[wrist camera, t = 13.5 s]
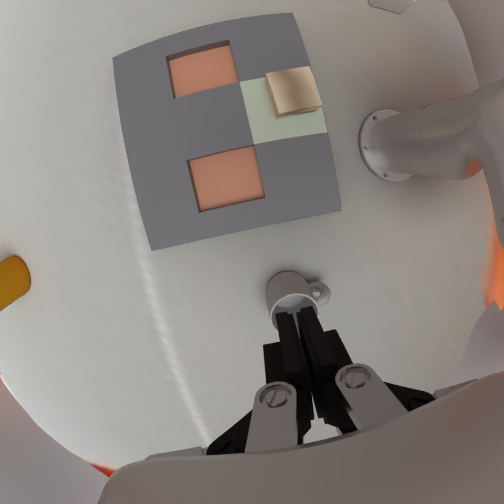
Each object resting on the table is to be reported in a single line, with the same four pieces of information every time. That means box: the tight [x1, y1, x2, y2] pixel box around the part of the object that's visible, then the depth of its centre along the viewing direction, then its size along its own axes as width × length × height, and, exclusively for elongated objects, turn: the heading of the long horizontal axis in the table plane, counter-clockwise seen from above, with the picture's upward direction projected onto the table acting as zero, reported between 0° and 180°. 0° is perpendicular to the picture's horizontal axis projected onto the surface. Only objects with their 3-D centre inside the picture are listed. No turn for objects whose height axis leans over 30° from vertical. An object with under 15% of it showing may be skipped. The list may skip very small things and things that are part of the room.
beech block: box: [264, 66, 323, 119], centre depth 33 cm, size 6×6×4 cm
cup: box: [266, 271, 331, 334], centre depth 42 cm, size 7×10×9 cm
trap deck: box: [113, 13, 341, 251], centre depth 37 cm, size 30×34×2 cm
